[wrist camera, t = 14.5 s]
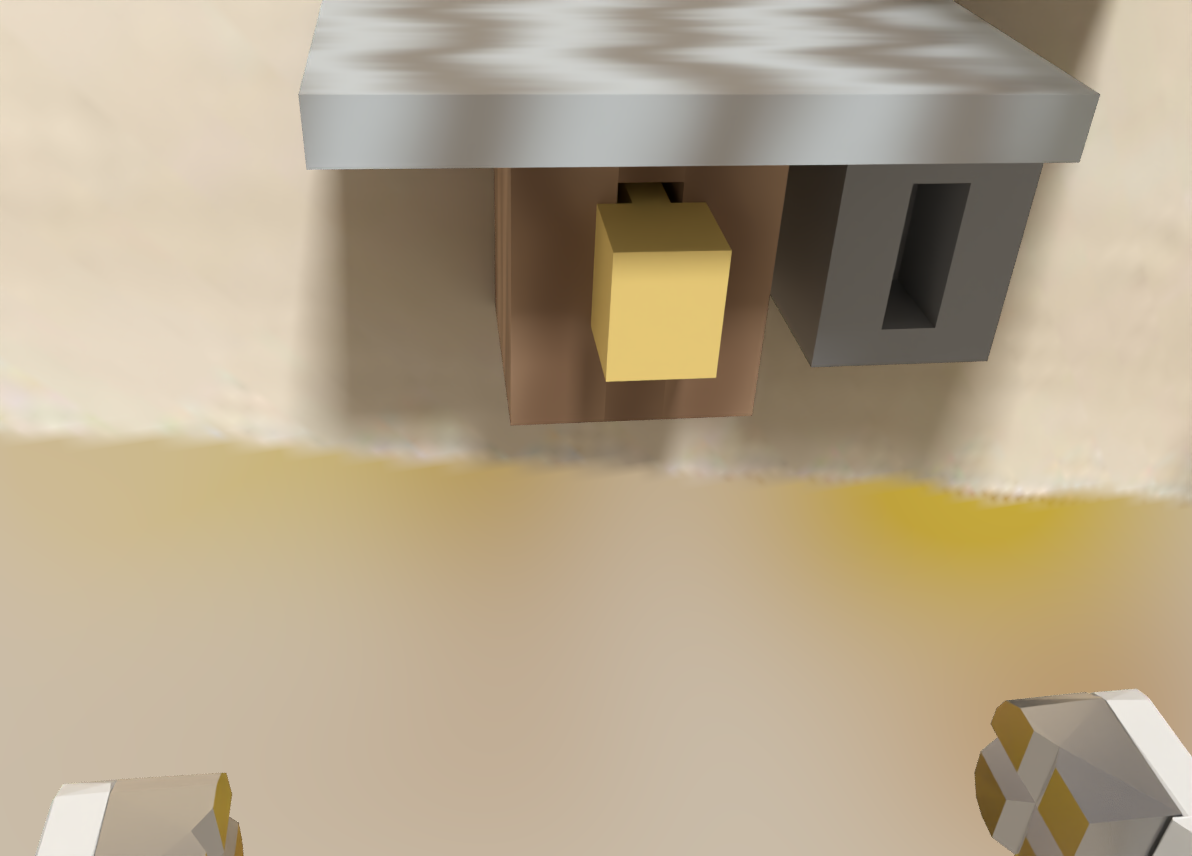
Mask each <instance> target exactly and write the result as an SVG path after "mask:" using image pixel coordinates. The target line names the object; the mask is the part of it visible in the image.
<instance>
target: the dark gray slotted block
mask: <svg viewBox="0 0 1192 856" xmlns="http://www.w3.org/2000/svg"><path fill="white" fill-rule="evenodd" d="M1042 167H1043V163H964V164H856V165H789V171H788V177H787V184H786V191H785V198H784V204H783V211H782V218H781V224H780V231H779V238H778V244H777V251H776V258H775V265H774V271H773V278H772V285H771V291H770V295H771V297H772V298H773V300H774V302H775V304H776V306H777V307H778V309H779V311H780V313H781V314H782V316H783V318H784V320H785V322H786V323H787V325H788V327H789V329H790V330H791V332H792V334H793V336H794V338H795V339H796V341H797V343H798V345H799V346H800V348H801V350H802V352H803V354H804V355H805V357H806V359H807V361H808V362H809V364H810V366H811V367H831V366H860V365H888V364H917V363H945V362H974V361H987V360H988V356H989V353H990V349H991V346H992V342H993V339H994V335H995V332H996V328H997V325H998V321H999V318H1000V314H1001V311H1002V307H1003V304H1004V300H1005V297H1006V293H1007V290H1008V286H1009V283H1010V279H1011V276H1012V272H1013V269H1014V265H1015V262H1016V258H1017V254H1018V251H1019V247H1020V244H1021V240H1022V237H1023V233H1024V230H1025V226H1026V223H1027V219H1028V216H1029V212H1030V209H1031V205H1032V202H1033V198H1034V195H1035V191H1036V188H1037V184H1038V181H1039V177H1040V174H1041V170H1042Z"/></svg>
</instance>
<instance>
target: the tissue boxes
mask: <svg viewBox="0 0 1192 856" xmlns="http://www.w3.org/2000/svg"><path fill="white" fill-rule="evenodd" d="M298 95H299V104H300V113H301V122H302V131H303V141H304V150H305V159H306V168H307V170H312V169H421V168H494V211H495V308H496V316H497V323H498V331H499V339H500V346H501V354H502V362H503V369H504V377H505V385H506V392H507V400H508V408H509V415H510V423H511V425H531V424H555V423H580V422H604V421H629V420H653V419H677V418H702V417H726V416H750V415H752V412H753V405H754V399H755V392H756V385H757V378H758V372H759V365H760V358H761V352H762V345H763V338H764V332H765V325H766V318H767V311H768V305H769V298H770V291H771V285H772V278H773V271H774V265H775V258H776V251H777V244H778V238H779V231H780V224H781V218H782V211H783V204H784V198H785V191H786V184H787V177H788V171H789V165H856V164H964V163H1073V162H1080V159H1081V155H1082V152H1083V149H1084V146H1085V142H1086V139H1087V136H1088V132H1089V129H1090V126H1091V123H1092V119H1093V116H1094V113H1095V109H1096V106H1097V103H1098V100H1099V96H1100V94H1099V93H1097V92H1096V91H1094V90H1092V89H1091V88H1089V87H1088V86H1086V85H1085V84H1083V83H1081V82H1080V81H1078V80H1077V79H1075V78H1074V77H1072V76H1070V75H1069V74H1067V73H1066V72H1064V71H1063V70H1061V69H1059V68H1058V67H1056V66H1055V65H1053V64H1052V63H1050V62H1048V61H1047V60H1045V59H1044V58H1042V57H1041V56H1039V55H1037V54H1036V53H1034V52H1033V51H1031V50H1030V49H1028V48H1027V47H1025V46H1023V45H1022V44H1020V43H1019V42H1017V41H1016V40H1014V39H1012V38H1011V37H1009V36H1008V35H1006V34H1005V33H1003V32H1001V31H1000V30H998V29H997V28H995V27H994V26H992V25H990V24H989V23H987V22H986V21H984V20H983V19H981V18H979V17H978V16H976V15H975V14H973V13H972V12H970V11H969V10H967V9H965V8H964V7H962V6H961V5H959V4H958V3H956V2H954V1H953V0H322V4H321V8H320V12H319V16H318V20H317V24H316V28H315V31H314V35H313V39H312V43H311V47H310V51H309V55H308V59H307V63H306V67H305V71H304V75H303V79H302V83H301V87H300V91H299V94H298ZM641 182H661V183H662V185H663V187H664V190H665V192H666V194H667V196H668V198H669V200H670V202H671V203H698V202H706V203H707V205H708V207H709V209H710V211H711V213H712V215H713V216H714V218H715V220H716V222H717V224H718V226H719V228H720V229H721V231H722V233H723V235H724V237H725V239H726V240H727V242H728V244H729V246H730V248H731V250H732V254H731V262H730V270H729V278H728V286H727V294H726V302H725V310H724V318H723V326H722V334H721V342H720V350H719V358H718V365H717V373H716V378H696V379H667V380H639V381H610V382H606V380H605V377H604V373H603V369H602V366H601V362H600V358H599V354H598V351H597V347H596V343H595V340H594V336H593V332H592V328H591V313H592V292H593V272H594V252H595V231H596V211H597V204H617V193H618V183H641Z"/></svg>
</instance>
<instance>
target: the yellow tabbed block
mask: <svg viewBox="0 0 1192 856" xmlns="http://www.w3.org/2000/svg"><path fill="white" fill-rule="evenodd" d="M731 254H732V250H731V248H730V246H729V244H728V242H727V240H726V239H725V237H724V235H723V233H722V231H721V229H720V228H719V226H718V224H717V222H716V220H715V218H714V216H713V215H712V213H711V211H710V209H709V207H708V205H707V203H706V202H698V203H671V202H670V200H669V198H668V196H667V194H666V192H665V190H664V187H663V185H662V183H661V182H641V183H618V193H617V204H597V211H596V231H595V252H594V272H593V292H592V313H591V328H592V332H593V336H594V340H595V343H596V347H597V351H598V354H599V358H600V362H601V366H602V369H603V373H604V377H605V380H606V382H610V381H639V380H667V379H696V378H716V373H717V365H718V358H719V350H720V342H721V334H722V326H723V318H724V310H725V302H726V294H727V286H728V278H729V270H730V262H731Z"/></svg>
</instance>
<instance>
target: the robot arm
mask: <svg viewBox="0 0 1192 856" xmlns="http://www.w3.org/2000/svg"><path fill="white" fill-rule="evenodd" d="M991 725H992V727H993V729H994V731H995V733H996V735H997V738H996V739H995V740H994V741H992V742H991V743H990V744H989V745H988V746H986V747H985V748H984V749H983V750H982V751H981V752H980V756H979V759H978V762H977V766H976V769H975V789H976V798H977V802H978V805H979V809H980V812H981V815H982V818H983V819H984V822H985V824H986V826H987V828H988V830H989V832H990V834H991V836H992V838H993V839H995V840H996V841H998V842H999V843H1000V844H1002V845H1003V846H1004V847H1006V848H1007V849H1008V850H1010V851H1011V852H1012V853H1014V854H1015V855H1014V856H1192V756H1191V755H1190V754H1189V752H1188V751H1187V749H1186V748H1185V747H1184V745H1183V744H1182V743H1181V742H1180V740H1179V738H1178V737H1177V736H1176V734H1175V733H1174V732H1173V730H1172V729H1171V727H1170V726H1169V725H1168V723H1167V722H1166V721H1165V719H1164V718H1163V717H1162V715H1161V714H1160V712H1159V711H1158V710H1157V709H1156V707H1155V706H1154V704H1153V703H1152V702H1151V700H1150V699H1149V698H1148V697H1147V696H1146V695H1144V694H1143V693H1142V692H1140V691H1139V690H1137V689H1126V690H1115V691H1104V692H1094V693H1086V692H1082V693H1073V694H1063V695H1054V696H1044V697H1035V698H1025V699H1017V700H1007V701H1005V702H1003V703H1002V704H1001V705H1000V706H998V707H997V708H996V711H995V714H994V716H993V719H992V721H991ZM231 799H232V792H231V788H230V784H229V781H228V777H227V774H226V773H212V774H196V775H180V776H164V777H148V778H134V779H118V780H106V781H94V782H81V783H68V784H63V785H62V786H61V788H60V789H59V791H58V792H57V794H56V795H55V797H54V798H53V800H52V803H51V806H50V809H49V812H48V815H47V819H46V823H45V825H44V828H43V832H42V835H41V838H40V842H39V845H38V848H37V851H36V855H35V856H243V844H242V837H241V832H240V827H239V823H238V822H237V821H235V820H234V819H232V818H231V817H229V813H230V806H231Z"/></svg>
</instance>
